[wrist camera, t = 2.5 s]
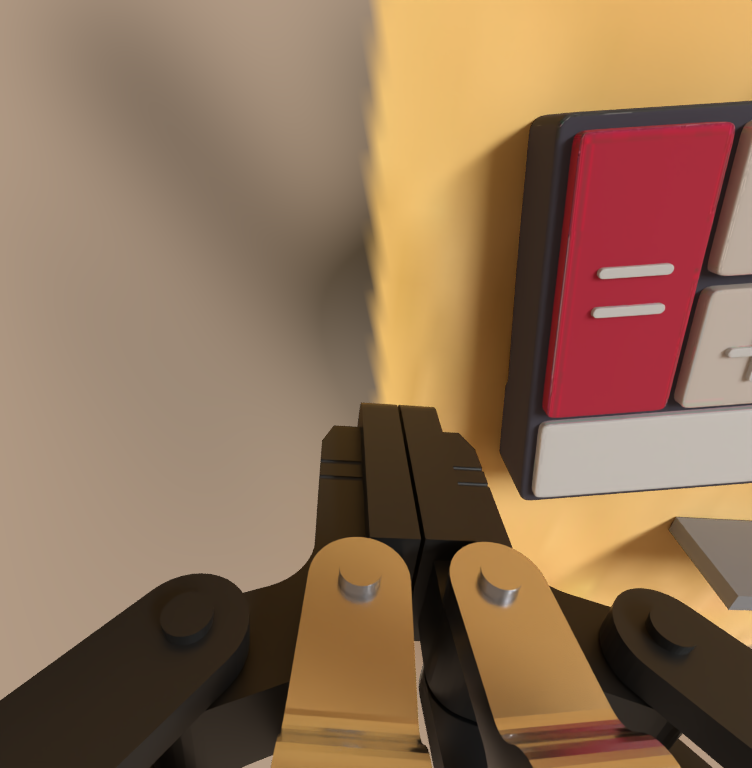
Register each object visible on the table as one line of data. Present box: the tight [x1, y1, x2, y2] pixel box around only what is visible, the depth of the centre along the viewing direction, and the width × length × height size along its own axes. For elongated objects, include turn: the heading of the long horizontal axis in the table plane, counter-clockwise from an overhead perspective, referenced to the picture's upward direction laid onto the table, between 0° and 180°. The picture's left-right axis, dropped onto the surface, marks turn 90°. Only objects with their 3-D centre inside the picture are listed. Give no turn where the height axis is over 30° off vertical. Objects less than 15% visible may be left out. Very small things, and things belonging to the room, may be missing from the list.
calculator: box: [500, 101, 752, 500], centre depth 19 cm, size 11×4×15 cm
